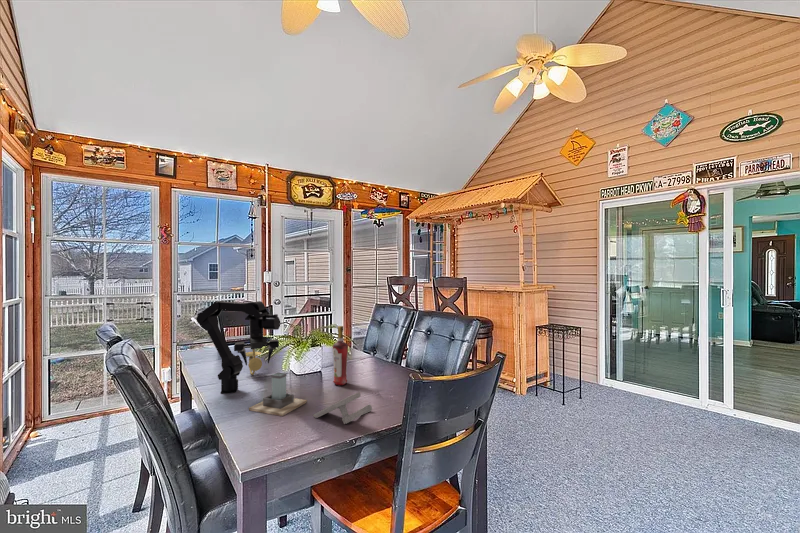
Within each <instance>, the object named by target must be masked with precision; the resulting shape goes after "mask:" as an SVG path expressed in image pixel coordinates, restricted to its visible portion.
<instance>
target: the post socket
mask: <svg viewBox="0 0 800 533" xmlns="http://www.w3.org/2000/svg"><path fill="white" fill-rule="evenodd" d="M307 402H308V400H307V399H304V398H303V399H302V398H295V395H294V393H293V394H291V393H287V392H286V397H285V398H283V399H281V400H277V399H272V394H270V395H267V396H266V397H264V398H262V401H260V402H258V403H256V404H254V405H252V406H250V407H248V411H251V412H257V413H263V414H268V415H273V416H280V417H283V416H285V415H287V414H288V413H290V412H292V411H294V410H296V409H298V408H299V407H301V406H303V405H305V404H306V403H307Z"/></svg>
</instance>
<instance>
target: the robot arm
mask: <svg viewBox="0 0 800 533" xmlns="http://www.w3.org/2000/svg"><path fill="white" fill-rule="evenodd" d="M222 311H228V312H231V311H232V312H241V313H244V314H245V315H247V316H246V317H245V318H244V320H246V321H249V343H245V342H244V341H241V342H235V344H234V345H233V350H234V352H237V353H239V354H240V355H241V357H242V358H243V359H241V357H240V355H239V354H237V355H235V354H233V352H232V351H231V349H230V347H229V344H228V342H227V340H226V339H225V337H224V335H223V333H222V332H221V330H220V327H219V318H218V317H219V316H220V315H221V314H222ZM196 322H197V324H198V325H199V327H201V328H202V329H203V330H205V331H206V332H207V334H208V336H209V337H210V340H211V341H212V343H213V345H214V347H215V349H216V351H217V353H218V355H219V357H220V359H221V368H222V370H221V371H220V372H219V373H218V375H217V378H218V380H219V381H221V382H220V384H221V385H220V386H221V388H220V389H221V390H220V394H231V393H237V390H238V389H239V379H238V377H237V376H239V375H240V373H241V372H242V370H243V367H244V364H245V366H248V359H247V356H246V352H247V351H246V349H249V348H250V350H253V349H255V350H257V349H258V350H261V349H263V348H264V347H268V354H267V364H269V363H270V360H271V357H272V354H273V352H274V350H276V349H277V348H280V341H279V340H278V339H277V338H276V339H269V341H268V340H267V338H268V337H267V336H264V331H265V330H266V331H267V330H270V331H272V330H273V331H276V330H277V331H278V330H279V329H280V328H281V318H280V317H279V315H278V314H276V313H275V314H270V313H269V311H268V309H267V308H266V306H265V303H264V302H263V301H259V300H257V301H250V302H238V301H237V302H236V301H226V300H225V301H224V300H217V301H214V302H213V303H211V305H209V306H208V307H207V308H205V309H203V310H202V311H201V312H199V313H198V314H197V316H196ZM243 363H244V364H243Z"/></svg>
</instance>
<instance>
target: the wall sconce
mask: <svg viewBox="0 0 800 533" xmlns="http://www.w3.org/2000/svg"><path fill="white" fill-rule="evenodd" d="M261 354H262V352H260V351H256V349H252V351H248V352H247V351H246V357H248V363H247V366H248V369H249V374H250V375H252V376H253V375H255V373H256V372H257V371H259V370H260V369H261V368H262V366H263V361H262V360H261V358H259V357H257V356H260V355H261Z"/></svg>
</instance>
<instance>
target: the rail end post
mask: <svg viewBox="0 0 800 533" xmlns="http://www.w3.org/2000/svg"><path fill="white" fill-rule="evenodd" d="M270 376H271V377H270V378H271V395H272V399H277V400H281V399H283V398H285V397H286V393H287V373H285V372H276V373H273V374H271V375H270Z"/></svg>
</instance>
